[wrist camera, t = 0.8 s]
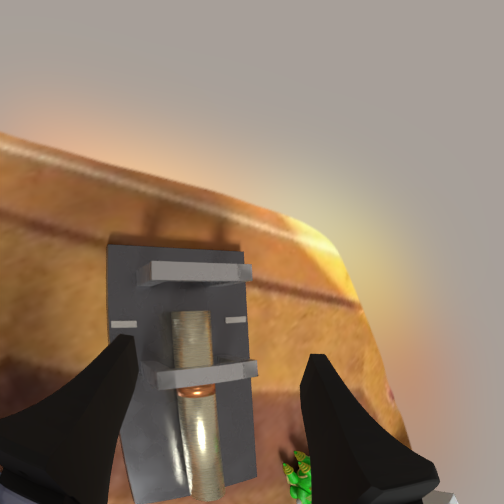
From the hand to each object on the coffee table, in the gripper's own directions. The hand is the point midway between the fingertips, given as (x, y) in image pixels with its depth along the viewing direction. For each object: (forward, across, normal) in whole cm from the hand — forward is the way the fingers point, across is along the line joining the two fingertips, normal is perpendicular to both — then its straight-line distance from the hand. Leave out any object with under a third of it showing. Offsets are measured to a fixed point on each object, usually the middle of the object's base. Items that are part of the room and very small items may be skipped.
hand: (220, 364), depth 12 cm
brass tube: (+6, +2, +12) cm, 13 cm away
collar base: (+8, +3, +11) cm, 14 cm away
